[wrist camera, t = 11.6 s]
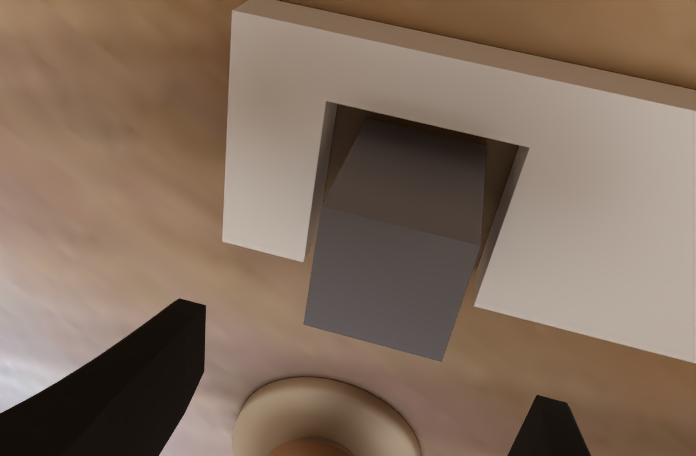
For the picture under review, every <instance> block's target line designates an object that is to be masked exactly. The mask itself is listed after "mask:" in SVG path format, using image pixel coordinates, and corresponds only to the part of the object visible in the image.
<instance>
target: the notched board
mask: <svg viewBox="0 0 696 456" xmlns="http://www.w3.org/2000/svg"><path fill="white" fill-rule="evenodd" d="M337 104H341V105H346V106H350V107H355V108H359V109H363V110H368V111H372V112H376V113H381V114H385V115H389V116H394V117H398V118H402V119H407V120H411V121H416V122H420V123H424V124H429V125H433V126H437V127H442V128H446V129H450V130H455V131H459V132H464V133H468V134H472V135H477V136H481V137H485V138H490V139H494V140H498V141H503V142H507V143H511V144H516V145H519V147H518V150H517V153H516V156H515V159H514V162H513V165H512V168H511V171H510V174H509V177H508V180H507V183H506V186H505V188H504V191H503V194H502V197H501V200H500V203H499V206H498V209H497V212H496V215H495V218H494V221H493V224H492V226H491V229H490V232H489V235H488V238H487V241H486V244H485V247H484V250H483V253H482V256H481V259H480V262H479V264H478V267H477V270H476V279H475V294H474V306H475V307H479V308H483V309H486V310H490V311H494V312H498V313H502V314H506V315H510V316H514V317H517V318H521V319H525V320H529V321H533V322H537V323H541V324H545V325H549V326H552V327H556V328H560V329H564V330H568V331H572V332H576V333H580V334H583V335H587V336H591V337H595V338H599V339H603V340H607V341H611V342H615V343H618V344H622V345H626V346H630V347H634V348H638V349H642V350H646V351H649V352H653V353H657V354H661V355H665V356H669V357H673V358H677V359H681V360H684V361H688V362H692V363H696V90H693V89H688V88H683V87H679V86H674V85H669V84H665V83H660V82H655V81H651V80H646V79H641V78H637V77H632V76H627V75H623V74H618V73H613V72H609V71H604V70H599V69H595V68H590V67H585V66H581V65H576V64H571V63H567V62H562V61H557V60H553V59H548V58H543V57H539V56H534V55H529V54H525V53H520V52H515V51H511V50H506V49H501V48H497V47H492V46H487V45H483V44H478V43H473V42H469V41H464V40H459V39H455V38H450V37H445V36H441V35H436V34H431V33H427V32H422V31H417V30H413V29H408V28H403V27H399V26H394V25H389V24H385V23H380V22H375V21H371V20H366V19H361V18H357V17H352V16H347V15H343V14H338V13H333V12H329V11H324V10H319V9H315V8H310V7H305V6H301V5H296V4H291V3H287V2H282V1H277V0H249V1H247V2H245V3H244V4H242V5H240V6H238V7H237V8H235V9H233V10H232V23H231V47H230V71H229V94H228V118H227V142H226V166H225V190H224V214H223V238H222V241H223V242H226V243H230V244H234V245H238V246H242V247H246V248H250V249H254V250H257V251H261V252H265V253H269V254H273V255H277V256H281V257H285V258H289V259H292V260H296V261H300V262H304V261H305V259H306V257H307V255H308V253H309V251H310V249H311V247H312V244H313V242H314V240H315V238H316V236H317V231H318V225H319V218H320V211H321V206H322V204H323V198H324V191H325V185H326V178H327V171H328V165H329V158H330V151H331V145H332V138H333V131H334V125H335V118H336V111H337Z"/></svg>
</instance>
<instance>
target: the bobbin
mask: <svg viewBox="0 0 696 456" xmlns="http://www.w3.org/2000/svg"><path fill="white" fill-rule="evenodd" d="M232 446H233V451H234V454H235V456H421V452H420V446H419V444H418V441H417V438H416V436H415V434H414V433H413V431H412V429H411V428H410V426H409V425H408V424H407V422H406V421H405V420H404V419H403V418H402V417H401V416H400V415H399V414H398V413H397V412H396V411H395V410H394V409H393V408H391V407H390V406H389V405H388V404H386V403H385V402H383V401H382V400H380V399H379V398H377V397H376V396H374V395H372V394H370V393H368V392H366V391H364V390H362V389H359V388H357V387H355V386H352V385H349V384H346V383H343V382H339V381H334V380H330V379H324V378H316V377H296V378H287V379H282V380H278V381H275V382H272V383H269V384H267V385H265V386H263V387H261V388H260V389H258V390H257V391H255V392H254V393H253V394H252V395H251V396H250V397H249V398H248V399H247V401H246V402H245V404H244V406H243V408H242V410H241V412H240V414H239V416H238V418H237V421H236V423H235V425H234V428H233V433H232Z"/></svg>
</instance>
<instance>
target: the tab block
mask: <svg viewBox="0 0 696 456" xmlns="http://www.w3.org/2000/svg"><path fill="white" fill-rule="evenodd" d="M486 150H487V145H483V144H478V143H474V142H470V141H465V140H461V139H457V138H452V137H448V136H444V135H439V134H435V133H431V132H426V131H422V130H418V129H414V128H409V127H405V126H401V125H396V124H392V123H388V122H383V121H379V120H375V119H370V118H366V120H365V122H364V124H363V126H362V128H361V130H360V132H359V134H358V136H357V138H356V140H355V142H354V144H353V146H352V148H351V149H350V151H349V153H348V155H347V157H346V159H345V161H344V163H343V165H342V167H341V169H340V171H339V173H338V175H337V177H336V179H335V181H334V182H333V184H332V186H331V188H330V190H329V192H328V194H327V196H326V198H325V200H324V202H323V204H322V206H321V211H320V218H319V225H318V231H317V238H316V245H315V251H314V258H313V265H312V272H311V278H310V285H309V292H308V298H307V305H306V312H305V318H304V325H307V326H311V327H315V328H318V329H322V330H326V331H329V332H333V333H337V334H341V335H344V336H348V337H352V338H355V339H359V340H363V341H367V342H370V343H374V344H378V345H381V346H385V347H389V348H392V349H396V350H400V351H404V352H407V353H411V354H415V355H418V356H422V357H426V358H429V359H433V360H437V361H441V362H442V359H443V356H444V353H445V350H446V347H447V344H448V342H449V339H450V336H451V333H452V330H453V327H454V324H455V321H456V318H457V315H458V312H459V309H460V306H461V303H462V300H463V297H464V294H465V291H466V288H467V285H468V282H469V279H470V276H471V274H472V271H473V268H474V265H475V262H476V259H477V256H478V253H479V250H480V247H481V235H482V218H483V201H484V184H485V167H486Z"/></svg>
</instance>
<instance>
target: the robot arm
mask: <svg viewBox="0 0 696 456" xmlns="http://www.w3.org/2000/svg"><path fill="white" fill-rule="evenodd" d="M205 320H206V305H202V304H198V303H195V302H191V301H187V300H183V299H178V300H176V301H174V302H173V303H172V304H170V305H169V306H168V307H166V308H165V309H164V310H162V311H161V312H160V313H158V314H157V315H155V316H154V317H153V318H151V319H150V320H149V321H147V322H146V323H145V324H143V325H142V326H141V327H139V328H138V329H136V330H135V331H134V332H132V333H131V334H130V335H128V336H127V337H125V338H124V339H122V340H121V341H120V342H118V343H117V344H115V345H114V346H112V347H111V348H109V349H108V350H107V351H105V352H104V353H102V354H101V355H99V356H98V357H96V358H95V359H93V360H92V361H90V362H89V363H87V364H85V365H84V366H82V367H81V368H79V369H77V370H76V371H74V372H73V373H71V374H70V375H68V376H66V377H65V378H63V379H62V380H60V381H58V382H57V383H55V384H53V385H52V386H50V387H48V388H46V389H45V390H43V391H41V392H39V393H38V394H36V395H34V396H32V397H30V398H29V399H27V400H25V401H23V402H21V403H19V404H17V405H15V406H14V407H12V408H10V409H8V410H6V411H4V412H2V413H0V456H159V454H160V453H161V451H162V450H163V448H164V446H165V445H166V443H167V441H168V440H169V438H170V436H171V435H172V433H173V432H174V430H175V428H176V427H177V425H178V423H179V422H180V420H181V418H182V417H183V415H184V413H185V412H186V409H187V407H188V405H189V403H190V401H191V399H192V397H193V395H194V393H195V390H196V388H197V386H198V384H199V381H200V379H201V377H202V375H203V373H204V359H205ZM508 456H591V455H590V452H589V450H588V448H587V446H586V444H585V441H584V439H583V437H582V435H581V432H580V430H579V428H578V426H577V423H576V421H575V419H574V416H573V414H572V412H571V409H570V407H569V406H568V404H567V403H565V402H561V401H558V400H554V399H550V398H547V397H543V396H539V395H537V396H536V398H535V400H534V402H533V404H532V406H531V408H530V410H529V412H528V414H527V416H526V419H525V421H524V423H523V425H522V427H521V429H520V431H519V433H518V435H517V437H516V439H515V441H514V443H513V445H512V447H511V450H510V452H509V454H508Z"/></svg>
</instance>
